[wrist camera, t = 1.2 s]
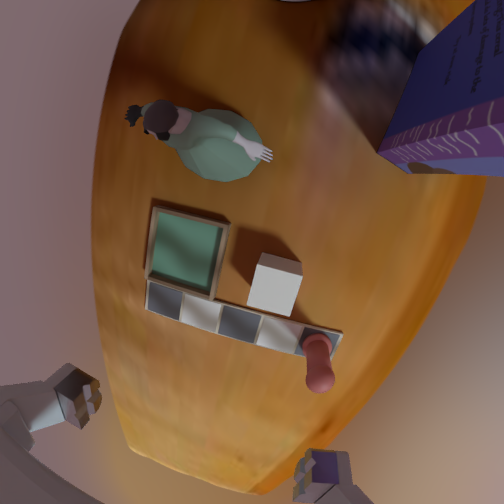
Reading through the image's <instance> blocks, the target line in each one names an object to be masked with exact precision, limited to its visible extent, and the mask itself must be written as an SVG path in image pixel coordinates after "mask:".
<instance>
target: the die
mask: <svg viewBox="0 0 504 504" xmlns="http://www.w3.org/2000/svg"><path fill="white" fill-rule="evenodd" d="M302 278H303V272H302V263H301V262H297V261H293V260H290V259H286V258H282V257H278V256H275V255H271V254H267V253H264V252H262V254H261V256H260V259H259V261H258V263H257V267H256V271H255V275H254V279H253V282H252V286H251V290H250V294H249V298H248V302H247V305H248V306H252V307H255V308H259V309H263V310H266V311H270V312H274V313H278V314H281V315H285V316H289V317H290V314H291V311H292V308H293V305H294V302H295V299H296V296H297V293H298V290H299V287H300V284H301V281H302Z"/></svg>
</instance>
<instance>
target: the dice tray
mask: <svg viewBox="0 0 504 504" xmlns="http://www.w3.org/2000/svg"><path fill="white" fill-rule="evenodd" d="M230 227H231V223H228V222H224V221H220V220H216V219H212V218H208V217H204V216H200V215H196V214H192V213H188V212H184V211H180V210H176V209H172V208H168V207H164V206H160V205H157V206H153V211H152V218H151V225H150V232H149V240H148V248H147V257H146V267H145V277H144V279H147V280H150V281H153V282H156V283H159V284H162V285H165V286H168V287H171V288H174V289H177V290H180V291H183V292H186V293H189V294H193V295H196V296H199V297H202V298H206V299H209V300H212V301H213V299H214V298H215V296H216V292H217V287H218V282H219V277H220V273H221V268H222V263H223V259H224V254H225V249H226V245H227V240H228V236H229V231H230Z"/></svg>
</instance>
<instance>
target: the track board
mask: <svg viewBox="0 0 504 504" xmlns="http://www.w3.org/2000/svg"><path fill="white" fill-rule="evenodd" d="M145 310H148V311H151V312H153V313H156V314H159V315H162V316H164V317H167V318H170V319H173V320H176V321H179V322H182V323H185V324H188V325H191V326H194V327H197V328H200V329H203V330H206V331H209V332H212V333H216V334H219V335H222V336H226V337H229V338H232V339H236V340H239V341H243V342H246V343H250V344H254V345H257V346H261V347H265V348H269V349H273V350H277V351H281V352H285V353H289V354H293V355H298V356H302V357H305V356H304V354H303V348H302V345H303V341H304V340H305V338H306V337H307V336H309V335H311V334H314V333H323V334H325V335H327V336H328V337H329V338H330V340H331V344H332V351H331V353H330V360H332V358H333V356H334V354H335V352H336V350H337V347H338V345H339V343H340V341H341V339H342V337H343V332H338V331H334V330H329V329H325V328H321V327H316V326H312V325H308V324H304V323H300V322H296V321H292V320H288V319H284V318H280V317H276V316H273V315H269V314H265V313H261V312H258V311H254V310H251V309H247V308H243V307H240V306H236V305H233V304H229V303H226V302H223V301H219V300H216V299H213V301H212V300H209V299H206V298H202V297H199V296H196V295H193V294H189V293H186V292H183V291H180V290H177V289H174V288H171V287H168V286H165V285H162V284H159V283H156V282H153V281H150V280H147V291H146V304H145Z"/></svg>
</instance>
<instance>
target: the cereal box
mask: <svg viewBox="0 0 504 504" xmlns="http://www.w3.org/2000/svg"><path fill="white" fill-rule="evenodd" d="M377 154H379V155H380V156H382V157H384V158H385V159H387V160H388V161H390V162H391V163H393V164H394V165H396V166H397V167H399V168H400V169H402V170H403V171H405V172H406V173H408V174H469V175H490V176H503V177H504V0H475V1H474V2H473V3H472V4H471V5H470V6H469V7H467V8H466V9H465V10H464V11H463V12H462V13H461V14H460V15H459V16H457V17H456V18H455V19H454V20H453V21H452V22H451V23H450V24H449V25H448V26H447V27H445V28H444V29H443V30H442V31H441V32H440V33H439V34H438V35H437V36H436V37H435V38H434V39H433V40H431V41H430V42H429V43H428V44H427V45H426V46H425V47H424V48H423V49H422V50H421V51H420V52H419V53H418V56H417V59H416V61H415V64H414V67H413V69H412V72H411V74H410V77H409V79H408V82H407V84H406V87H405V89H404V92H403V94H402V97H401V99H400V102H399V104H398V106H397V109H396V111H395V113H394V116H393V118H392V120H391V122H390V125H389V127H388V129H387V131H386V133H385V136H384V138H383V140H382V142H381V144H380V147H379V149H378V151H377Z"/></svg>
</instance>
